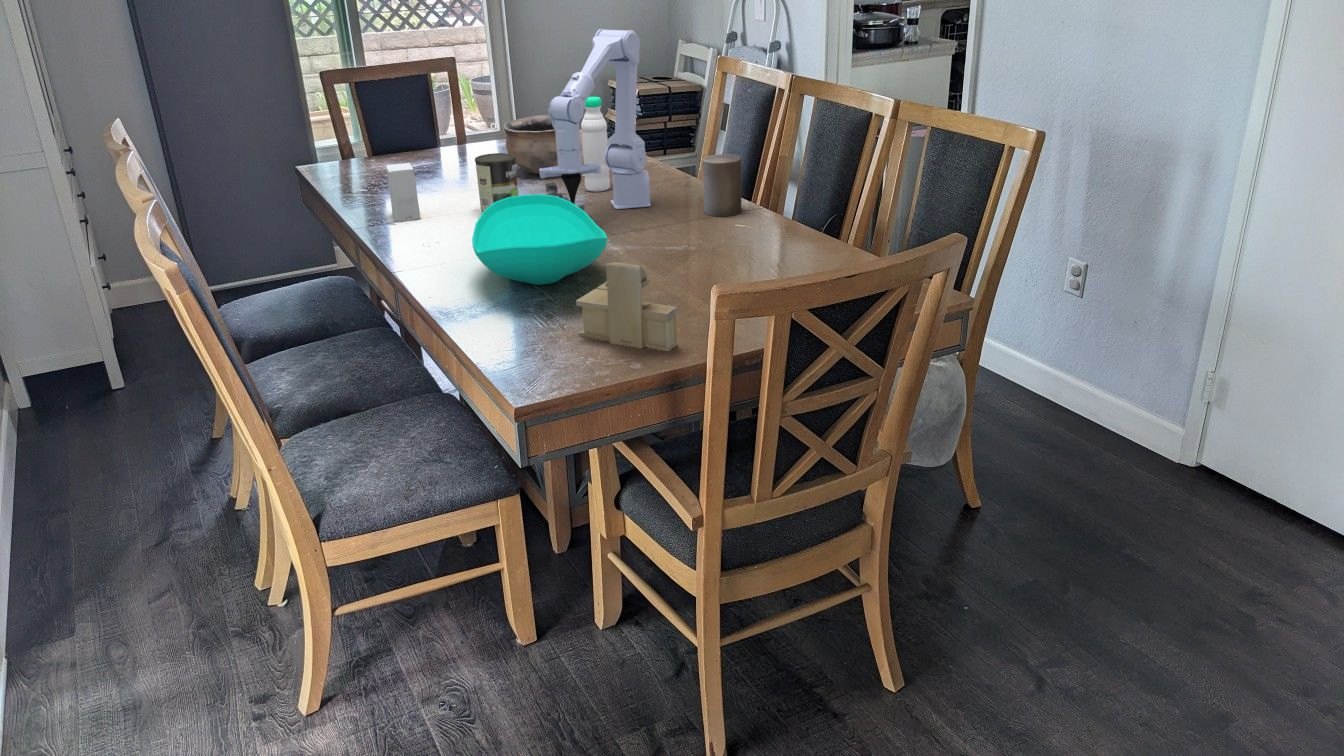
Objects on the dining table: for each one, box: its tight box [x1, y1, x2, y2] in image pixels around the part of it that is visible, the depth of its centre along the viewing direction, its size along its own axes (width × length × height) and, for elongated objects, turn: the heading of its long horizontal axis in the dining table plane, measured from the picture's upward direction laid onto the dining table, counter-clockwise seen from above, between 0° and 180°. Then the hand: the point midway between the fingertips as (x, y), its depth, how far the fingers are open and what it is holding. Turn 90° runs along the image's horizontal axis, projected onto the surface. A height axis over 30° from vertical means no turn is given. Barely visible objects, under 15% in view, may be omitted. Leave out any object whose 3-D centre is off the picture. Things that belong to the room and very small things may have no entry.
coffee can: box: [474, 152, 519, 214], centre depth 257 cm, size 10×10×14 cm
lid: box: [545, 182, 587, 207], centre depth 246 cm, size 14×24×3 cm, turn 18°
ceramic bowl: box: [502, 114, 558, 175], centre depth 294 cm, size 22×22×15 cm
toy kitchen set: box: [575, 261, 679, 352], centre depth 180 cm, size 18×17×15 cm
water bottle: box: [580, 96, 611, 193], centre depth 272 cm, size 7×7×25 cm
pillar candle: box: [702, 153, 743, 217], centre depth 250 cm, size 10×10×15 cm
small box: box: [385, 162, 421, 223], centre depth 254 cm, size 8×6×13 cm
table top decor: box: [471, 193, 608, 286], centre depth 207 cm, size 40×28×13 cm
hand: (572, 204), depth 241 cm, fingers closed
